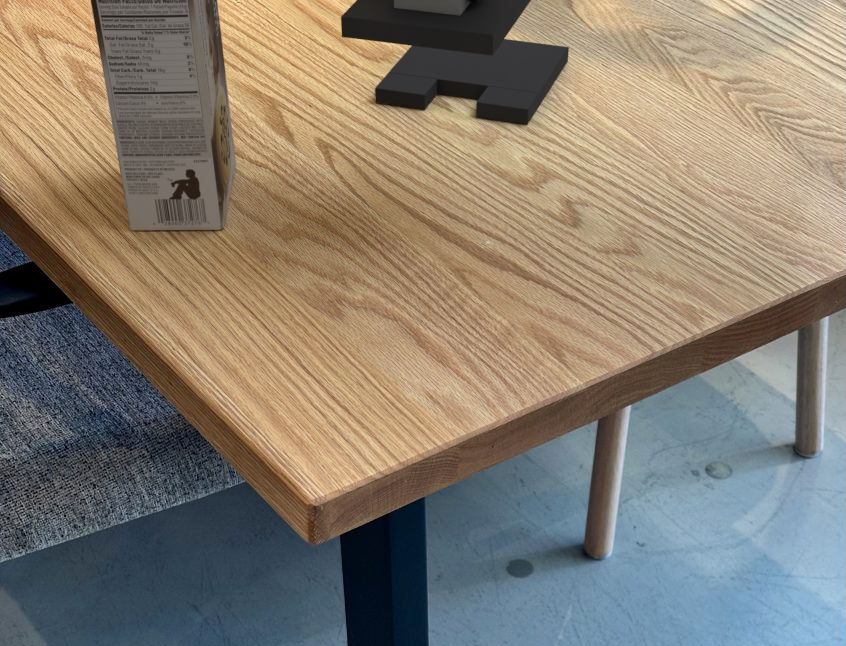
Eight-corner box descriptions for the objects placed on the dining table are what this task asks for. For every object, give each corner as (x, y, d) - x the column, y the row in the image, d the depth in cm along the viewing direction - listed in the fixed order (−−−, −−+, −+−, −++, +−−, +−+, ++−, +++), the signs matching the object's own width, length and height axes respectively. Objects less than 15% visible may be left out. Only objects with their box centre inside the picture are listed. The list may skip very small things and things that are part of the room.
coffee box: (147, 167, 93) (109, -72, 82) (238, 166, 93) (212, -73, 82) (126, 232, 86) (82, -19, 76) (225, 231, 86) (195, -20, 76)
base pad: (567, 61, 106) (568, 46, 105) (527, 124, 98) (528, 109, 97) (426, 43, 109) (426, 28, 108) (375, 102, 101) (374, 87, 100)
